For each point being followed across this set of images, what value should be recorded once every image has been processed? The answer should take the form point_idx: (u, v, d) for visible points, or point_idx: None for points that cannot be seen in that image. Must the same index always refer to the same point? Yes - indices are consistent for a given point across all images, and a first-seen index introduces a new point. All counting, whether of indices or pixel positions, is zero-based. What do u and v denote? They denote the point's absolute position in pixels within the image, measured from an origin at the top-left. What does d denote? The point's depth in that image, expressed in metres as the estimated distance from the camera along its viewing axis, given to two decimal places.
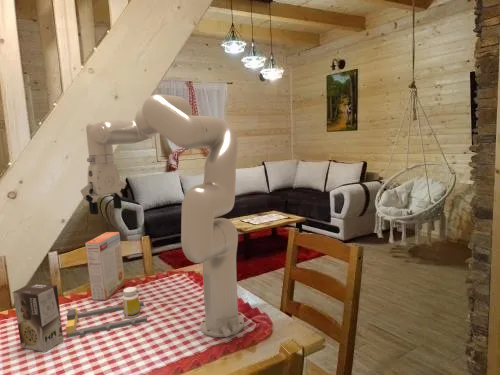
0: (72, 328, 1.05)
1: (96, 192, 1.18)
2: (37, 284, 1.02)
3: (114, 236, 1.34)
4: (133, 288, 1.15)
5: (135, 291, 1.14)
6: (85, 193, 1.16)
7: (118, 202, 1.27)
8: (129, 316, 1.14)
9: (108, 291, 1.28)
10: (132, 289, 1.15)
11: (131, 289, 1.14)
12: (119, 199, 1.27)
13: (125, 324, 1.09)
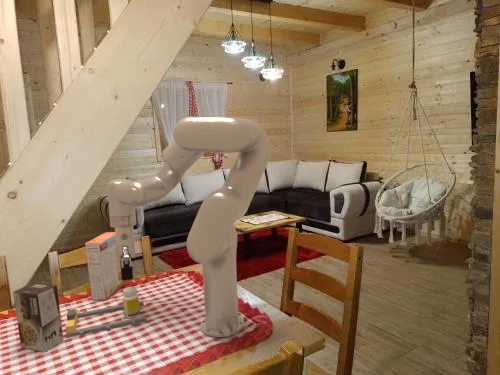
0: (72, 328, 1.05)
1: (133, 255, 1.10)
2: (37, 284, 1.02)
3: (114, 236, 1.34)
4: (133, 288, 1.15)
5: (135, 291, 1.14)
6: (128, 258, 1.06)
7: None
8: (129, 316, 1.14)
9: (108, 291, 1.28)
10: (132, 289, 1.15)
11: (131, 289, 1.14)
12: None
13: (125, 324, 1.09)
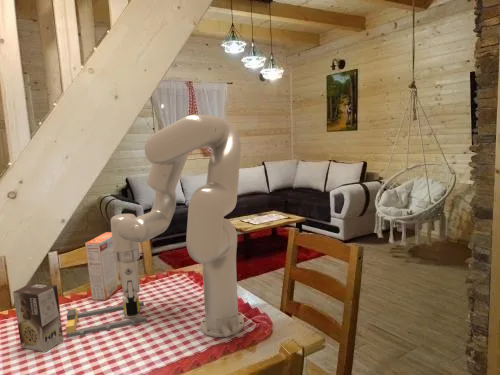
0: (72, 328, 1.05)
1: (137, 289, 1.11)
2: (37, 284, 1.02)
3: None
4: None
5: (135, 291, 1.14)
6: (133, 296, 1.09)
7: None
8: (129, 316, 1.14)
9: (108, 291, 1.28)
10: None
11: None
12: None
13: (125, 324, 1.09)
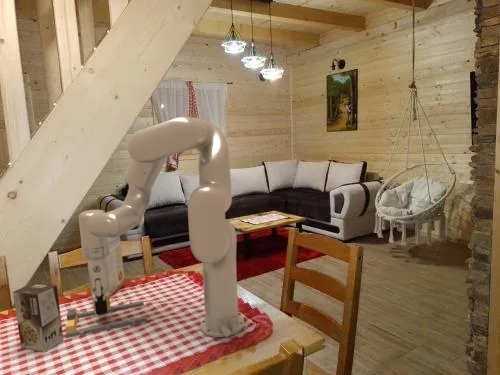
0: (72, 328, 1.05)
1: (106, 287, 1.08)
2: (37, 284, 1.02)
3: None
4: None
5: None
6: (101, 295, 1.06)
7: None
8: (99, 315, 1.10)
9: (108, 291, 1.28)
10: None
11: (101, 288, 1.11)
12: None
13: (125, 324, 1.09)
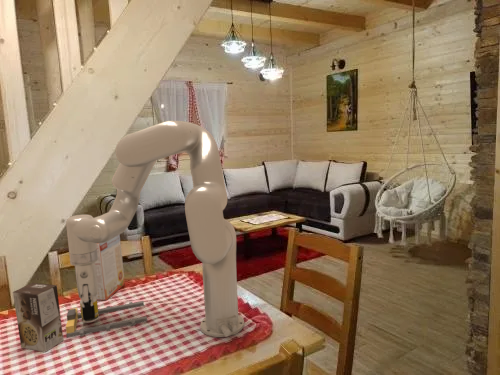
0: (72, 328, 1.05)
1: (94, 293, 1.07)
2: (37, 284, 1.02)
3: None
4: None
5: None
6: (88, 301, 1.05)
7: None
8: (86, 321, 1.09)
9: (108, 291, 1.28)
10: None
11: None
12: None
13: (125, 324, 1.09)
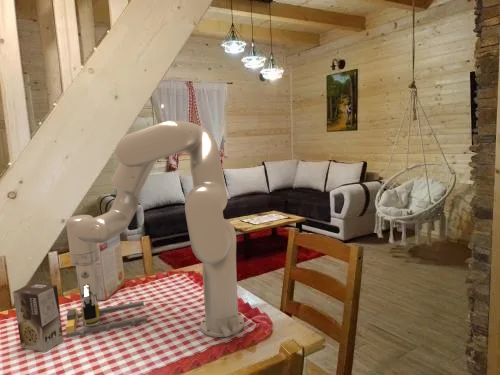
0: (72, 328, 1.05)
1: (95, 293, 1.07)
2: (37, 284, 1.02)
3: None
4: None
5: (94, 298, 1.10)
6: (89, 298, 1.03)
7: None
8: (87, 324, 1.09)
9: (108, 291, 1.28)
10: None
11: None
12: None
13: (125, 324, 1.09)
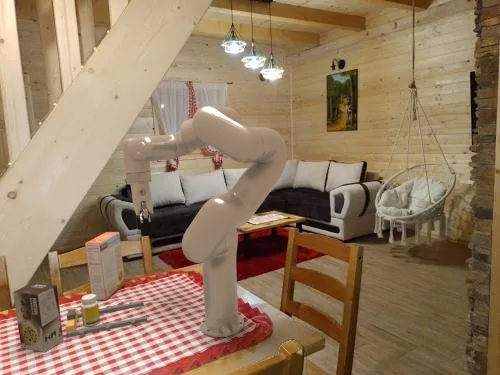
0: (72, 328, 1.05)
1: (151, 210, 1.12)
2: (37, 284, 1.02)
3: (114, 236, 1.34)
4: (92, 295, 1.11)
5: (94, 298, 1.10)
6: (147, 212, 1.08)
7: None
8: (87, 324, 1.09)
9: (108, 291, 1.28)
10: (91, 296, 1.11)
11: (90, 297, 1.10)
12: None
13: (125, 324, 1.09)
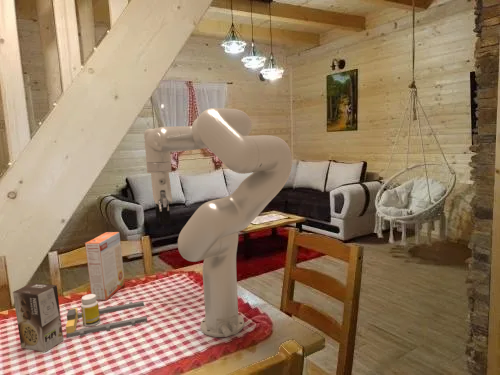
0: (72, 328, 1.05)
1: (170, 200, 1.14)
2: (37, 284, 1.02)
3: (114, 236, 1.34)
4: (92, 295, 1.11)
5: (94, 298, 1.10)
6: (166, 201, 1.11)
7: None
8: (87, 324, 1.09)
9: (108, 291, 1.28)
10: (91, 296, 1.11)
11: (89, 297, 1.10)
12: None
13: (125, 324, 1.09)
